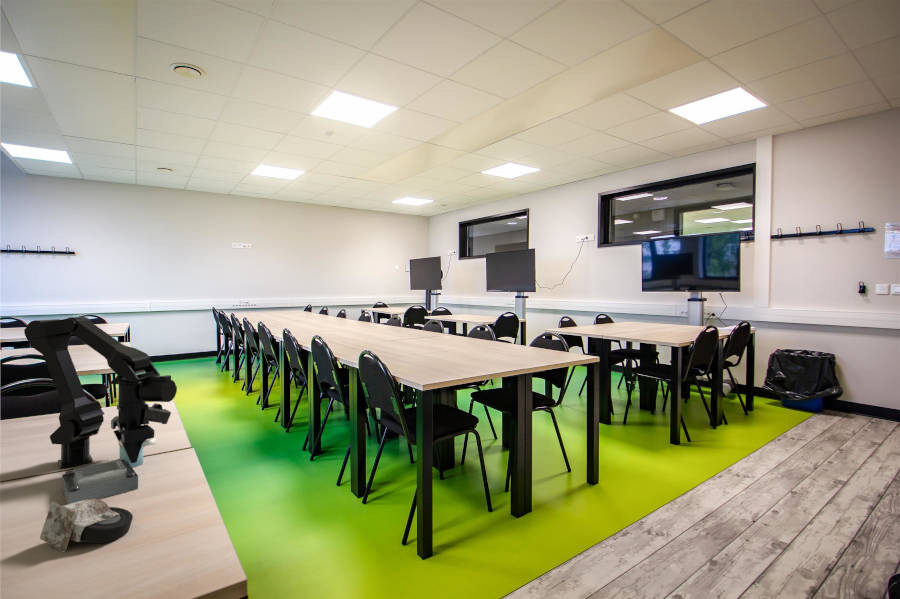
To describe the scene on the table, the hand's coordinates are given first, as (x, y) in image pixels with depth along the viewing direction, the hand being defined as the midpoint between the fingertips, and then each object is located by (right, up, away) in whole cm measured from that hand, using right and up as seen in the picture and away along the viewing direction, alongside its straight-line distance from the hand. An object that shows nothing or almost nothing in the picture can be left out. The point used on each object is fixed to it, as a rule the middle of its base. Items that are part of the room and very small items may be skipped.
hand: (131, 459), depth 112 cm
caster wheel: (+18, -2, -33) cm, 37 cm away
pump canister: (+1, -1, +1) cm, 2 cm away
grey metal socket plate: (+3, -1, -14) cm, 14 cm away
